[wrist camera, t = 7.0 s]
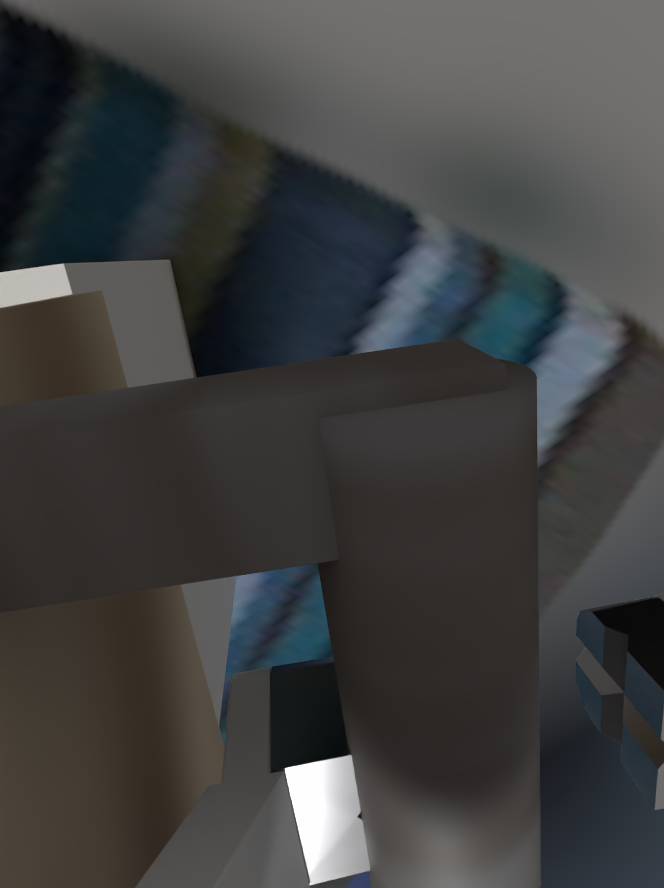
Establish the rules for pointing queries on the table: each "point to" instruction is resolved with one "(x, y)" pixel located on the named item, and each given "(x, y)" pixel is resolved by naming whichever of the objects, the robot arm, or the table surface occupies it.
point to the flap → (258, 550)
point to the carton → (144, 362)
